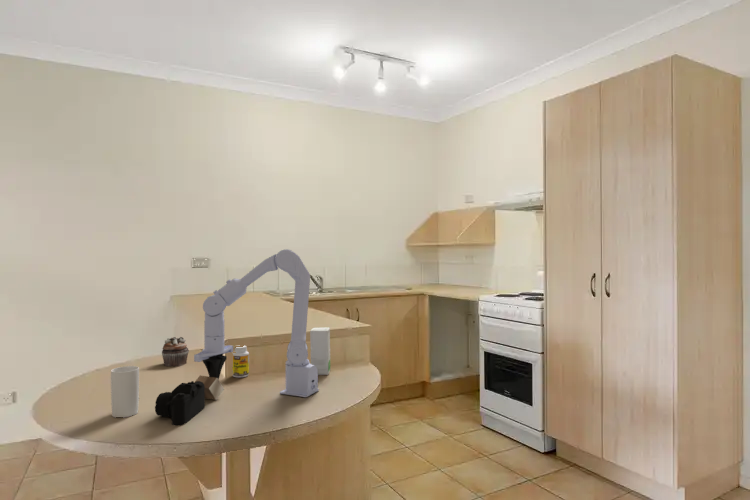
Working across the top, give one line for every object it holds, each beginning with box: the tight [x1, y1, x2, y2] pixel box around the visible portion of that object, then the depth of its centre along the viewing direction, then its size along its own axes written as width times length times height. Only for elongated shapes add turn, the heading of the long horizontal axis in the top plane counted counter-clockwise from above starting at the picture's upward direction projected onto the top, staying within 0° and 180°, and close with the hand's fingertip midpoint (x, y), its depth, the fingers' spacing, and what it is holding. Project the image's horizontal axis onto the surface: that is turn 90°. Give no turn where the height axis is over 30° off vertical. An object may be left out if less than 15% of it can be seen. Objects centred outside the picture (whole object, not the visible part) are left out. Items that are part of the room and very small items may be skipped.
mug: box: [110, 365, 140, 418], centre depth 128 cm, size 10×7×12 cm, turn 11°
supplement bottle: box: [231, 345, 250, 379], centre depth 164 cm, size 6×6×10 cm
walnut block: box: [194, 374, 225, 401], centre depth 139 cm, size 5×4×7 cm
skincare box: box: [309, 326, 331, 376], centre depth 169 cm, size 8×7×16 cm
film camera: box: [154, 380, 206, 426], centre depth 125 cm, size 15×10×9 cm, turn 176°
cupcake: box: [161, 336, 190, 367], centre depth 181 cm, size 10×10×10 cm
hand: (214, 380), depth 142 cm, fingers closed
